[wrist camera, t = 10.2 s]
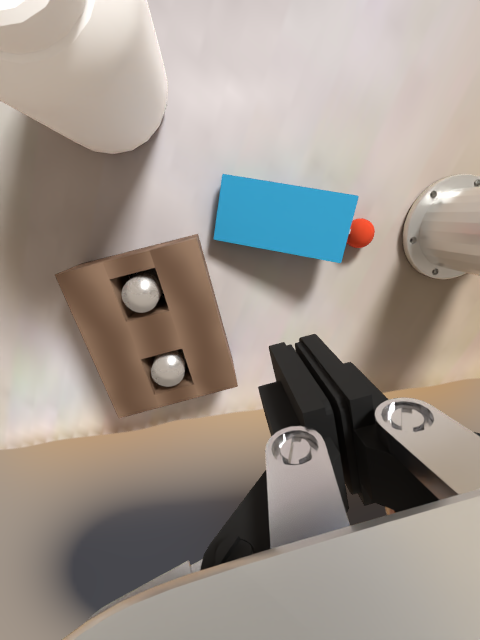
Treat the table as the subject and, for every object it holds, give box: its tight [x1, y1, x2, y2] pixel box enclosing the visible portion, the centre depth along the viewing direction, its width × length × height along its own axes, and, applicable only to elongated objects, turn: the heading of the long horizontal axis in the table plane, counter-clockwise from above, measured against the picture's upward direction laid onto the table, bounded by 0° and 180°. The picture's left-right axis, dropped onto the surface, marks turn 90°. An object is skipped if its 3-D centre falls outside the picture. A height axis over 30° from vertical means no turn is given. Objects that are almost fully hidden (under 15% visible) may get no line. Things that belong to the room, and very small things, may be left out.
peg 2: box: [151, 349, 186, 387], centre depth 38 cm, size 4×4×7 cm
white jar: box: [0, 0, 168, 154], centre depth 22 cm, size 12×12×20 cm
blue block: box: [214, 174, 375, 263], centre depth 37 cm, size 7×7×18 cm
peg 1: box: [122, 268, 163, 313], centre depth 35 cm, size 4×4×7 cm
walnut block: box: [55, 234, 238, 418], centre depth 36 cm, size 14×17×7 cm
